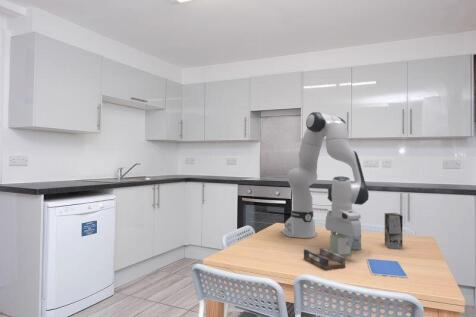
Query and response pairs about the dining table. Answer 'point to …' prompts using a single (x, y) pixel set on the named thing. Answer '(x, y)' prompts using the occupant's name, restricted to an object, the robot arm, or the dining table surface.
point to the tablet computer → (386, 268)
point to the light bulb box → (356, 243)
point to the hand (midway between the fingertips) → (342, 243)
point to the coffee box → (393, 230)
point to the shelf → (325, 259)
